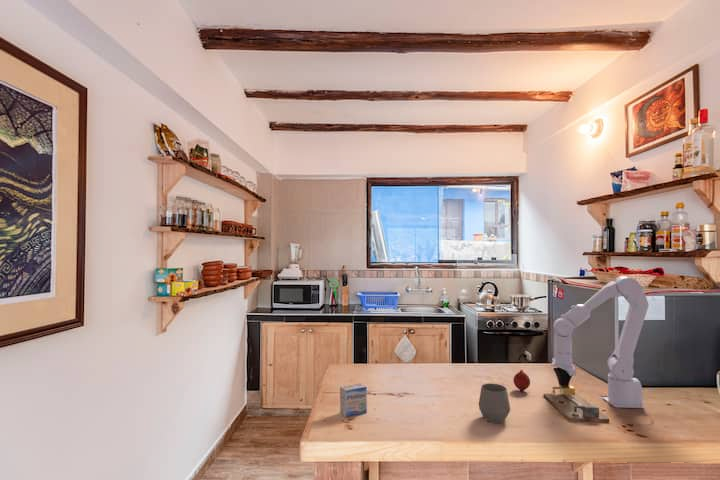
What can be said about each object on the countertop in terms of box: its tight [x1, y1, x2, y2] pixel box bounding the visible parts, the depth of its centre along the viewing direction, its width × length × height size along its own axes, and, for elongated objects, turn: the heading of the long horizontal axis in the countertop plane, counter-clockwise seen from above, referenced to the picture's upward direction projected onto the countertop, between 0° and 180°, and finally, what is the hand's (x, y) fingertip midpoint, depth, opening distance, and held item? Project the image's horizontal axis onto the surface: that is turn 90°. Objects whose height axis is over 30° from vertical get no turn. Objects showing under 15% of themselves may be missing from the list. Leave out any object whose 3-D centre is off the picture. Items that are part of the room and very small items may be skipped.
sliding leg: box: [552, 384, 576, 395], centre depth 139 cm, size 7×3×2 cm, turn 86°
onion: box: [513, 369, 531, 392], centre depth 147 cm, size 6×6×8 cm
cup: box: [478, 382, 511, 424], centre depth 123 cm, size 10×9×10 cm
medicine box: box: [339, 383, 368, 419], centre depth 128 cm, size 8×4×9 cm, turn 118°
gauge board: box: [543, 393, 610, 423], centre depth 131 cm, size 12×20×4 cm, turn 176°
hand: (563, 389), depth 142 cm, fingers closed
